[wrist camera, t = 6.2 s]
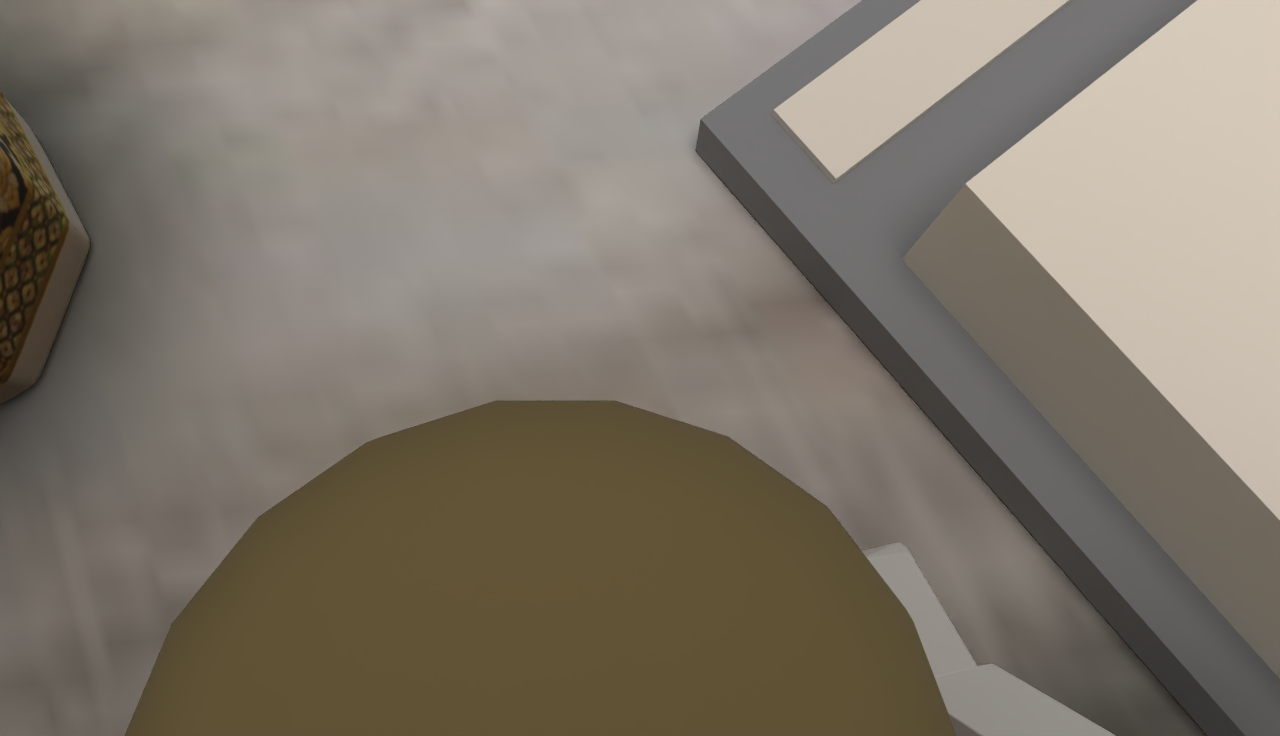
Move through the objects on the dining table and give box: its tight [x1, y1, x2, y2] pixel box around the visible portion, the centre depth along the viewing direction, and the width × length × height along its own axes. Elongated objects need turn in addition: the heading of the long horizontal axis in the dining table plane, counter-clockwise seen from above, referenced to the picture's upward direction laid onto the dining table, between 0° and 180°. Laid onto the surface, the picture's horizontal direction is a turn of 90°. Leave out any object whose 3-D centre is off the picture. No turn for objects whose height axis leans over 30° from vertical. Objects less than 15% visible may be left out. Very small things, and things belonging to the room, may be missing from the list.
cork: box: [125, 401, 957, 736], centre depth 10 cm, size 6×6×11 cm
